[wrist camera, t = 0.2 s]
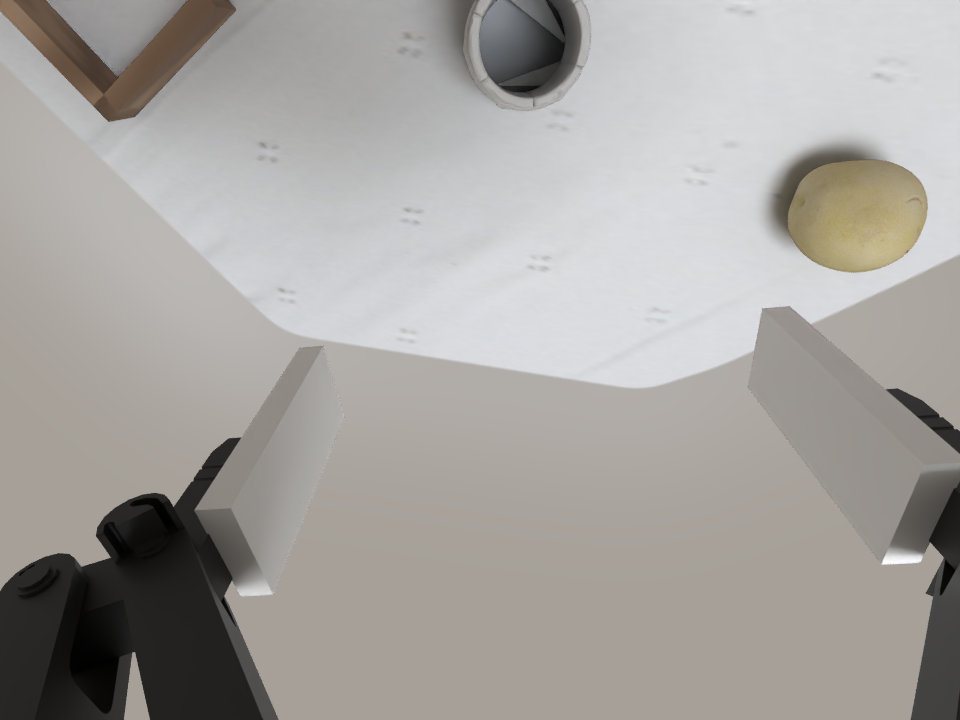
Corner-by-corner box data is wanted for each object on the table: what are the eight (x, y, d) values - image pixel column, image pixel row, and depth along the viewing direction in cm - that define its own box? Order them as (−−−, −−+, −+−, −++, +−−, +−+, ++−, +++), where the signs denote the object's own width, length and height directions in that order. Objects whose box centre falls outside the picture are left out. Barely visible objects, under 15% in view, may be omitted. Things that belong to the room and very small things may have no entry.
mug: (512, 130, 38) (519, 159, 28) (398, -22, 34) (357, -54, 23) (600, 51, 36) (644, 51, 25) (489, -124, 31) (487, -211, 21)
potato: (835, 261, 43) (901, 301, 36) (750, 232, 42) (801, 267, 35) (900, 168, 39) (987, 193, 32) (808, 134, 38) (878, 152, 31)
